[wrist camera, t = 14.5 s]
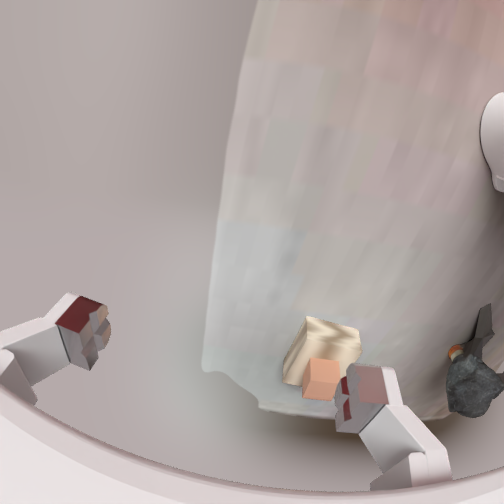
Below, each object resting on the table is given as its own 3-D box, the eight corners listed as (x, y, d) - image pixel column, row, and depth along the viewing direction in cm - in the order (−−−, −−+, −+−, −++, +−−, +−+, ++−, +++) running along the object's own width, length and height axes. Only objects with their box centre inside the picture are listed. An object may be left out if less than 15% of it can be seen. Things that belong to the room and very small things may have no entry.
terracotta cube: (338, 361, 47) (340, 383, 43) (329, 378, 50) (330, 401, 45) (310, 357, 48) (310, 380, 43) (302, 375, 50) (302, 397, 46)
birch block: (357, 328, 51) (362, 352, 46) (330, 369, 57) (331, 392, 52) (306, 314, 51) (307, 339, 46) (283, 358, 57) (282, 382, 52)
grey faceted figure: (426, 336, 50) (453, 410, 34) (490, 303, 45) (530, 367, 29) (435, 374, 55) (455, 439, 39) (491, 345, 49) (520, 404, 34)
